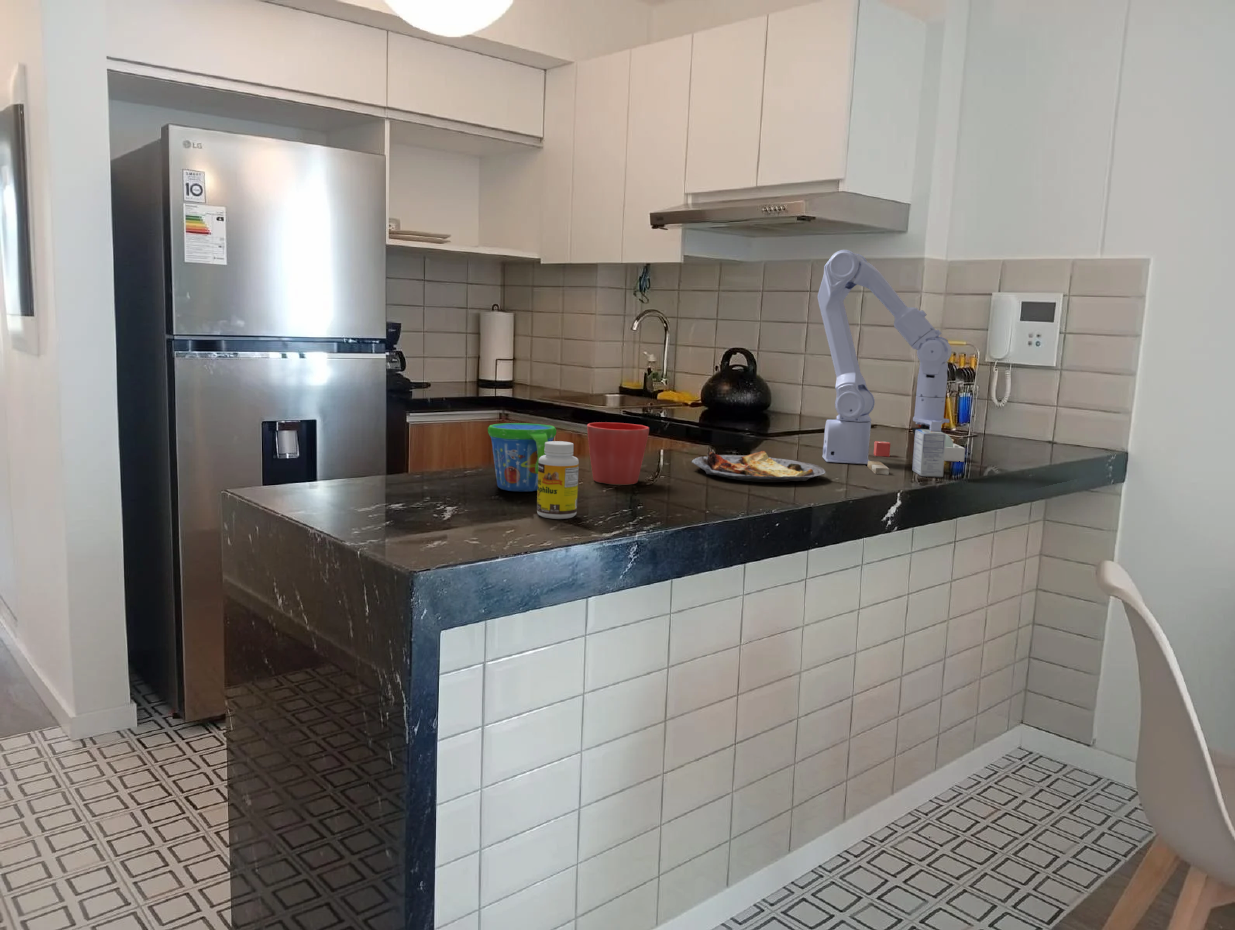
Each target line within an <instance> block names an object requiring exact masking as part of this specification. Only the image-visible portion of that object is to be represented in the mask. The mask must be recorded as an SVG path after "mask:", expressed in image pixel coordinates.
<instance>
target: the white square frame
mask: <svg viewBox="0 0 1235 930" xmlns="http://www.w3.org/2000/svg"><path fill="white" fill-rule="evenodd" d="M965 456H966V448H965V447H963V446H961V445H959V444H956V443H953V447H945V454H944V462H958V463H959V461H960V463H961V462H962V463H964V462H965Z"/></svg>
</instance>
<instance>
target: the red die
mask: <svg viewBox="0 0 1235 930" xmlns="http://www.w3.org/2000/svg"><path fill="white" fill-rule="evenodd" d="M890 454H891V442H889V441H880V440H879V441H878V440H875V441H874V444H873V455H874V456H875V457H888V458H890Z"/></svg>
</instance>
